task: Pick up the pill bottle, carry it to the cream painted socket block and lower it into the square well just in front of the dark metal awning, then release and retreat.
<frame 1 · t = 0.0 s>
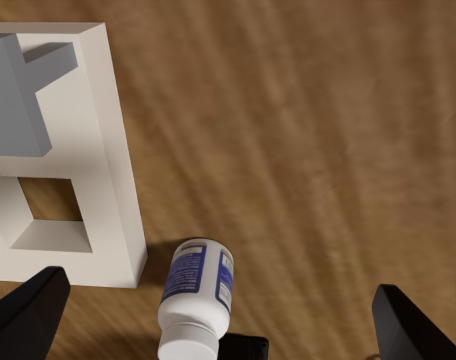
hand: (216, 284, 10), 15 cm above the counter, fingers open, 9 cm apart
pill bottle: (204, 257, 30), on the counter
socket block: (61, 188, 27), on the counter
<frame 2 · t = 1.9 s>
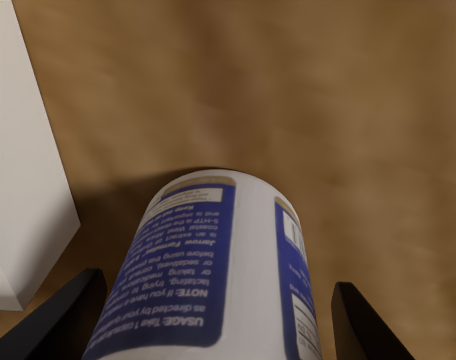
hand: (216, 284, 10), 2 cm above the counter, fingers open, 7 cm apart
pill bottle: (223, 227, 12), on the counter
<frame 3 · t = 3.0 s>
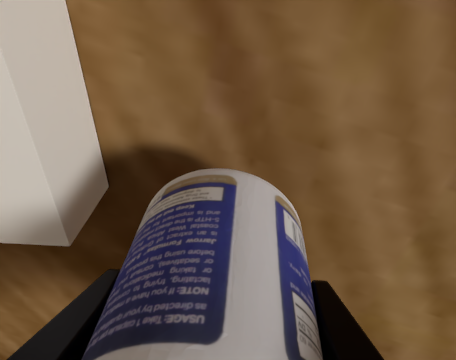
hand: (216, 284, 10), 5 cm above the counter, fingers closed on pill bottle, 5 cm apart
pill bottle: (224, 226, 12), point 2 cm above the counter, touching gripper
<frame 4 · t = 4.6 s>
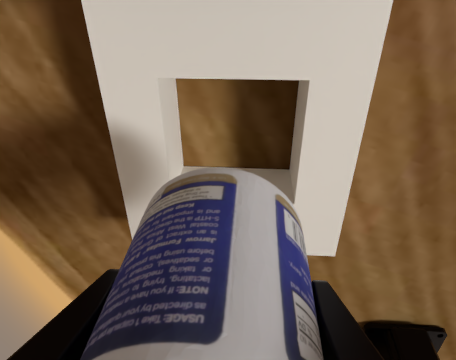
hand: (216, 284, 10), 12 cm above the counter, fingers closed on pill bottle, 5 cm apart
pill bottle: (224, 225, 12), point 9 cm above the counter, touching gripper
socket block: (236, 118, 20), on the counter
when the fingers open (4 cm above the counter, at t = 6.7 s): pill bottle drops 2 cm, resting in socket block.
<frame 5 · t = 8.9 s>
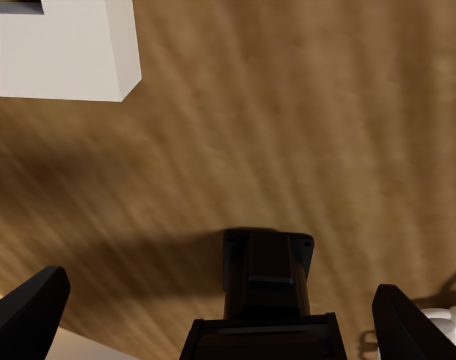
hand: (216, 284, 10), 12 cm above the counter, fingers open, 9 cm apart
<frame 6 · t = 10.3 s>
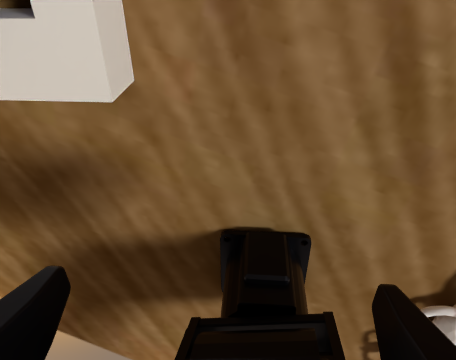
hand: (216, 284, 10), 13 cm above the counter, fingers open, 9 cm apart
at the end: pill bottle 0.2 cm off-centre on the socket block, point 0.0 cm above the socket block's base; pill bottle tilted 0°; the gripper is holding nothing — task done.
